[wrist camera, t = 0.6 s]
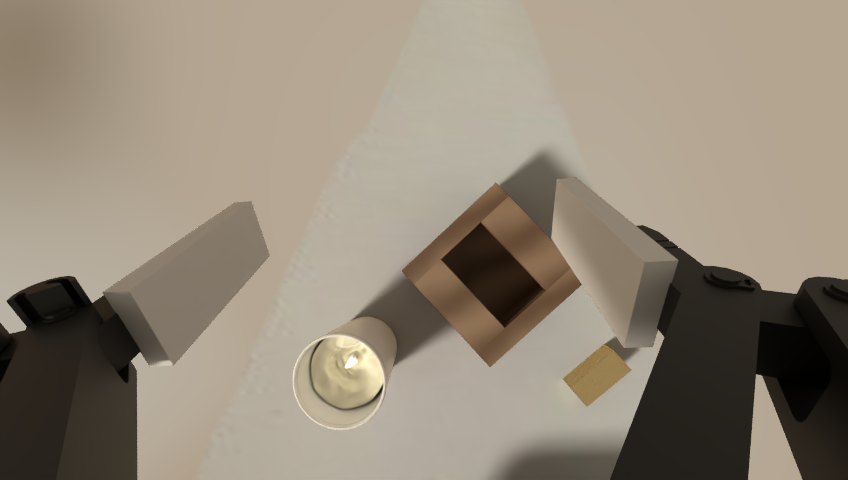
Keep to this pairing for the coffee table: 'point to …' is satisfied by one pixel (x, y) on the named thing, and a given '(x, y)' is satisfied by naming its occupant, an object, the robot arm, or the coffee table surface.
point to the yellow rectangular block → (596, 374)
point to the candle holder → (345, 373)
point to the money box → (493, 274)
